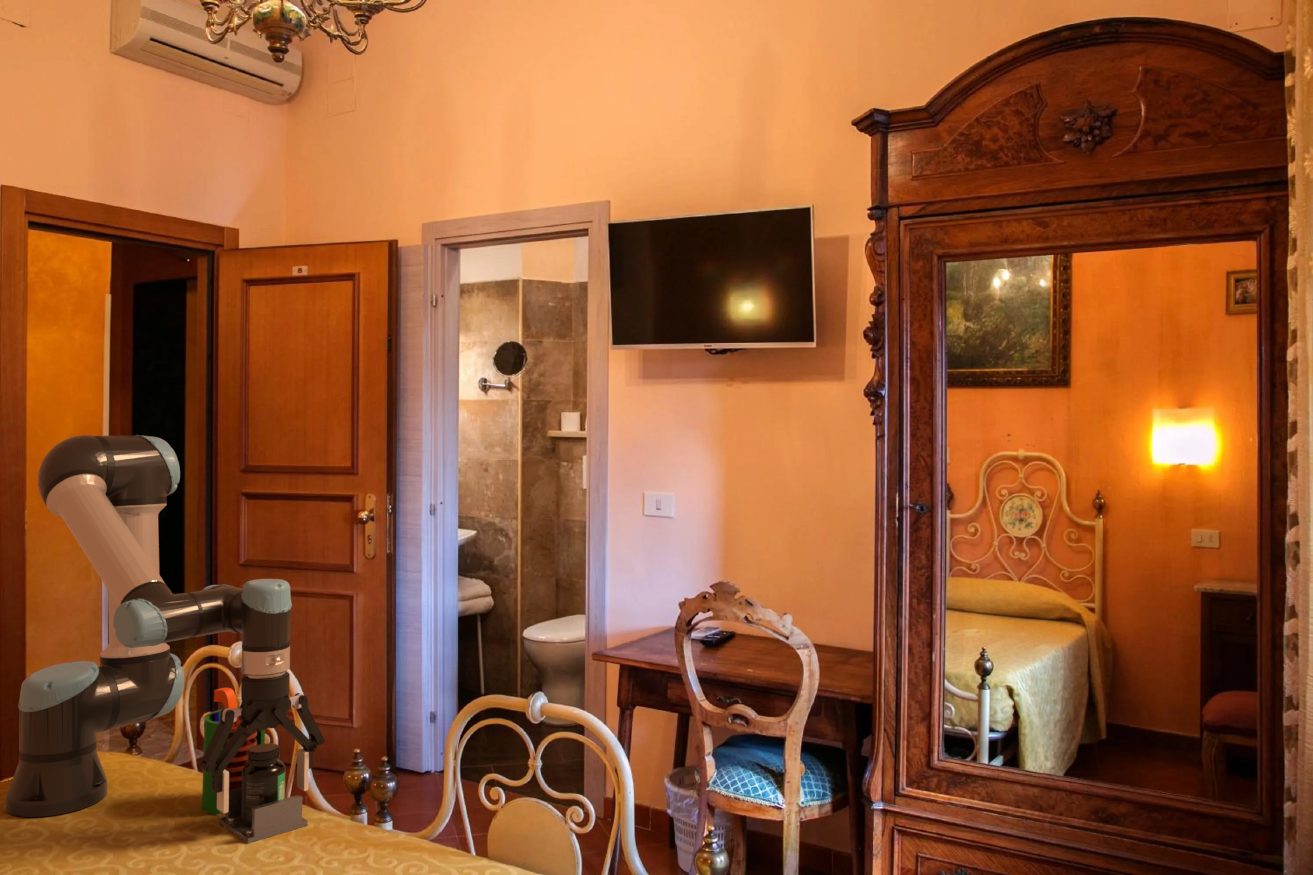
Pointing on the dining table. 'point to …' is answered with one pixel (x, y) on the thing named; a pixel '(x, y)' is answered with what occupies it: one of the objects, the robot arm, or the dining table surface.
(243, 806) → the supplement bottle
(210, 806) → the motor
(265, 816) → the cradle
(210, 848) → the dining table surface
